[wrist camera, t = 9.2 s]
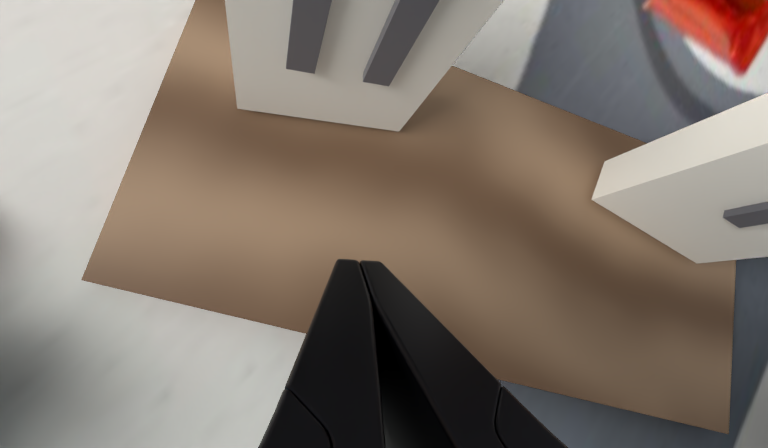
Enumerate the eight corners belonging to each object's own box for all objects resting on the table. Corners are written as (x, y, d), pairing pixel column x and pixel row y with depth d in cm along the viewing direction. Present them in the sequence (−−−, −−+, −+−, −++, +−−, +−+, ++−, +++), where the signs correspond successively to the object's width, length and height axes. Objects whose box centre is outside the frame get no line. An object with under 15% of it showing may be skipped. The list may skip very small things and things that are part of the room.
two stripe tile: (398, 138, 17) (616, -123, 7) (236, 116, 16) (188, -269, 5) (400, 84, 18) (606, -242, 7) (242, 57, 16) (209, -411, 6)
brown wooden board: (706, 428, 20) (728, 434, 19) (92, 281, 15) (81, 280, 14) (719, 185, 23) (739, 180, 22) (211, -14, 17) (208, -32, 17)
